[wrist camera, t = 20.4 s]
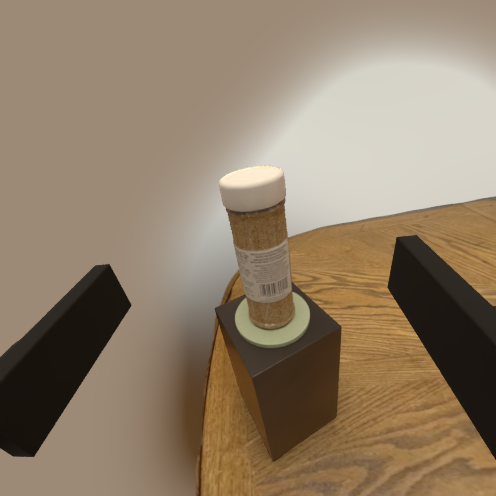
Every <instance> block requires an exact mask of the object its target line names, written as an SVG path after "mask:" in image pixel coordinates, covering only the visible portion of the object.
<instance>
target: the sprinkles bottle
mask: <svg viewBox="0 0 496 496" xmlns="http://www.w3.org/2000/svg"><path fill="white" fill-rule="evenodd" d="M219 187H220V192H221V197H222V201H223V205H224V206H225V207H226V211H227V213H228V216H229V221H230V226H231V230H232V234H233V243H234V247H235V251H236V256H237V261H238V265H239V270H240V275H241V280H242V284H243V289H244V292H245V295H246V300H247V304H248V314H249V318H250V320H251V321H252V322H253V324H255V325H257V326H259V327H261V328H266V329H275V328H279V327H282V326H284V325H286V324H288V323H289V322H290V321H291V320H292V318H293V316H294V313H295V306H294V302H293V293H292V274H291V263H290V253H289V245H288V237H287V229H286V218H285V209H284V207H285V206H284V203H285V196H286V188H285V179H284V173H283V171H282V170H281V169H280V168H277V167H273V166H258V167H250V168H245V169H241V170H237V171H234V172H231V173H229V174H227V175H225V176H224V177H223V178H222V179H221V180H220V182H219Z"/></svg>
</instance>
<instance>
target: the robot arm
mask: <svg viewBox="0 0 496 496" xmlns="http://www.w3.org/2000/svg"><path fill="white" fill-rule="evenodd" d="M388 289H389V291H390V292H391V294H392V296H393V297H394V299H395V300H396V302H397V303H398V305H399V307H400V308H401V310H402V311H403V313H404V315H405V316H406V318H407V319H408V321H409V323H410V324H411V326H412V327H413V329H414V331H415V332H416V334H417V335H418V337H419V338H420V340H421V342H422V343H423V345H424V346H425V348H426V350H427V351H428V353H429V354H430V356H431V358H432V359H433V361H434V362H435V364H436V366H437V367H438V369H439V370H440V372H441V374H442V375H443V377H444V378H445V380H446V381H447V383H448V385H449V386H450V388H451V389H452V391H453V393H454V394H455V396H456V397H457V399H458V401H459V402H460V404H461V405H462V407H463V409H464V410H465V412H466V413H467V415H468V416H469V418H470V420H471V421H472V423H473V424H474V426H475V428H476V429H477V431H478V432H479V434H480V436H481V437H482V439H483V440H484V442H485V444H486V445H487V447H488V448H489V450H490V451H491V453H492V455H493V456H494V458H495V459H496V306H492V305H491V304H490V303H489V302H488V301H487V300H486V299H484V298H483V297H482V296H481V295H480V294H479V293H478V292H477V291H476V290H475V289H474V288H473V287H472V286H471V285H469V284H468V283H467V282H466V281H465V280H464V279H463V278H462V277H461V276H460V275H459V274H458V273H457V272H455V271H454V270H453V269H452V268H451V267H450V266H449V265H448V264H447V263H446V262H445V261H444V260H443V259H442V258H440V257H439V256H438V255H437V254H436V253H435V252H434V251H433V250H432V249H431V248H430V247H429V246H428V245H427V244H425V243H424V242H423V241H422V240H421V239H420V238H419V237H418V236H417V235H413V236H403V237H397V238H396V244H395V249H394V255H393V260H392V266H391V271H390V277H389V282H388ZM130 307H131V303H130V301H129V300H128V298H127V296H126V294H125V292H124V290H123V288H122V287H121V285H120V283H119V281H118V279H117V277H116V275H115V274H114V272H113V270H112V268H111V266H110V265H109V264H106V265H96V266H94V267H93V268H92V269H91V270H90V271H89V272H88V273H87V274H86V275H85V276H84V277H83V278H82V279H81V280H80V281H79V282H78V283H77V284H76V285H75V286H74V287H73V288H72V289H71V290H70V291H69V292H68V293H67V294H66V295H65V296H64V297H63V298H62V299H61V300H60V301H59V302H58V303H57V304H56V305H55V306H54V307H53V308H52V309H51V310H50V311H49V312H48V313H47V314H46V315H45V316H44V317H43V318H42V319H41V320H40V321H39V322H38V323H37V324H36V325H35V326H34V327H33V328H32V329H31V330H30V331H29V332H28V333H27V334H26V335H25V336H24V337H23V338H22V339H20V340H19V341H17V342H16V343H15V344H14V345H12V346H11V347H10V348H9V349H8V350H7V351H6V352H5V353H4V354H3V355H2V356H1V357H0V448H1V449H2V450H4V451H6V452H7V453H9V454H10V455H12V456H18V457H34V456H35V454H36V453H37V451H38V450H39V448H40V447H41V445H42V444H43V442H44V440H45V439H46V437H47V436H48V434H49V433H50V431H51V430H52V428H53V427H54V425H55V423H56V422H57V420H58V419H59V417H60V416H61V414H62V413H63V411H64V409H65V408H66V406H67V405H68V403H69V402H70V400H71V399H72V397H73V395H74V394H75V392H76V391H77V389H78V388H79V386H80V385H81V383H82V382H83V380H84V378H85V377H86V375H87V374H88V372H89V371H90V369H91V368H92V366H93V364H94V363H95V361H96V360H97V358H98V357H99V355H100V354H101V352H102V350H103V349H104V347H105V346H106V344H107V343H108V341H109V340H110V338H111V337H112V335H113V333H114V332H115V330H116V329H117V327H118V326H119V324H120V322H121V321H122V319H123V318H124V316H125V315H126V313H127V312H128V310H129V309H130Z"/></svg>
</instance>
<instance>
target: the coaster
mask: <svg viewBox="0 0 496 496" xmlns="http://www.w3.org/2000/svg"><path fill="white" fill-rule="evenodd" d="M292 293H293V302H294V306H295V313H294V316H293V318H292V320H291V321H290V322H289V323H288V324H286V325H284V326H282V327H279V328H275V329H266V328H261V327H259V326H257V325H255V324H253V322H252V321H251V320H250V318H249V314H248V304H247V300H246V298H245V299H244V300H243V301H242V302H241V303H240V305H239V306H238V308H237V310H236V314H235V324H236V327H237V330H238V332H239V334H240V335H241V336H242V337H243V338H244V339H245V340H246V341H247V342H249V343H251V344H253V345H255V346H258V347H262V348H279V347H284V346H287V345H289V344H292V343H294V342H295V341H297V340H298V339H299V338H301V337H302V336H303V334H304V333H305V332H306V330H307V329H308V326H309V323H310V310H309V307H308V305H307V303H306V302H305V300H304V299H303V298H302V297H301V296H299V295H298V294H296V293H294V292H292Z"/></svg>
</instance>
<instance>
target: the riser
mask: <svg viewBox="0 0 496 496" xmlns="http://www.w3.org/2000/svg"><path fill="white" fill-rule="evenodd" d="M292 292H294V293H296V294H298V295H299V296H301V297H302V298H303V299H304V300H305V302H306V303H307V305H308V307H309V310H310V323H309V326H308V329H307V330H306V332H305V333H304V334H303V336H302V337H301V338H299V339H298V340H297V341H295V342H294V343H292V344H289V345H287V346H284V347H279V348H262V347H258V346H255V345H253V344H251V343H249V342H247V341H246V340H245V339H244V338H243V337H242V336H241V335H240V334H239V332H238V330H237V327H236V324H235V314H236V310H237V308H238V306H239V305H240V303H241V302H242V301H243V300H244V299H245V298H246V295H243V296H240V297H238V298H236V299H234V300H232V301H229V302H227V303H225V304H223V305H220V306H218V307H216V308H215V311H216V315H217V318H218V321H219V325H220V328H221V331H222V334H223V337H224V341H225V344H226V347H227V350H228V354H229V357H230V360H231V363H232V366H233V370H234V373H235V376H236V379H237V383H238V386H239V389H240V392H241V394H242V396H243V398H244V400H245V402H246V405H247V407H248V409H249V411H250V413H251V415H252V418H253V420H254V422H255V424H256V426H257V428H258V430H259V433H260V435H261V437H262V439H263V441H264V443H265V445H266V448H267V450H268V452H269V454H270V456H271V458H272V460H273V461H275V460H276V459H278V458H279V457H280V456H282V455H283V454H285V453H286V452H287V451H289V450H290V449H292V448H293V447H295V446H296V445H297V444H299V443H300V442H302V441H303V440H304V439H306V438H307V437H309V436H310V435H311V434H313V433H314V432H316V431H317V430H318V429H320V428H321V427H323V426H324V425H326V424H327V423H328V422H330V421H331V420H333V419H334V418H335V417H336V416H337V399H338V381H339V364H340V346H341V328H342V327H341V326H340V325H339V324H338V323H337V322H336V321H335V320H334V319H332V318H331V317H330V316H329V315H328V314H327V313H326V312H325V311H324V310H322V309H321V308H320V307H319V306H318V305H317V304H316V303H315V302H313V301H312V300H311V299H310V298H309V297H308V296H307V295H306V294H305V293H303V292H302V291H301V290H300V289H299V288H298V287H297V286H296V285H295V284H293V283H292Z"/></svg>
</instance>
